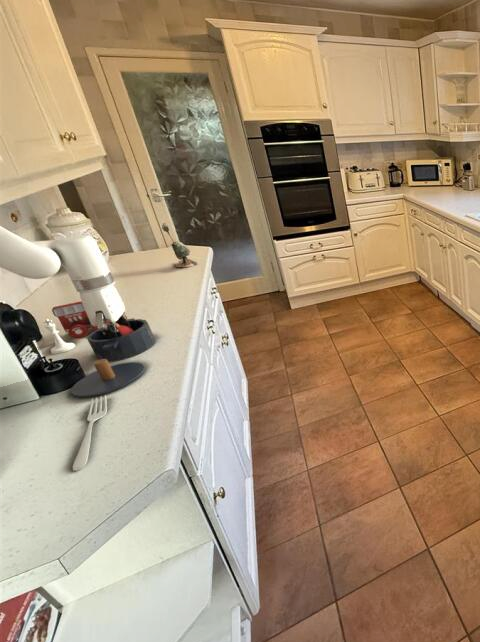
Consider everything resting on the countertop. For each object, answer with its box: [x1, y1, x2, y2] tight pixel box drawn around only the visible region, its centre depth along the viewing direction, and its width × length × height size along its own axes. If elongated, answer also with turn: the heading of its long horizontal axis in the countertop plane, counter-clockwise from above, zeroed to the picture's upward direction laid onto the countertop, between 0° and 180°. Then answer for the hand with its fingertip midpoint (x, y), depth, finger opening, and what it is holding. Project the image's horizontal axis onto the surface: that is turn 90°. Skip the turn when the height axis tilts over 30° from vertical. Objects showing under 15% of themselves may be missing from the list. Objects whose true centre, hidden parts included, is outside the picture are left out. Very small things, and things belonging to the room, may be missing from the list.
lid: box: [70, 359, 146, 398], centre depth 99 cm, size 14×14×6 cm
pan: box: [86, 317, 156, 363], centre depth 113 cm, size 13×18×6 cm
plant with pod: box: [161, 222, 198, 268], centre depth 175 cm, size 8×11×20 cm
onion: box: [116, 324, 134, 335], centre depth 112 cm, size 6×6×8 cm
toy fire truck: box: [51, 300, 111, 339], centre depth 123 cm, size 7×12×10 cm, turn 131°
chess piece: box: [42, 318, 76, 355], centre depth 113 cm, size 5×5×10 cm
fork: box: [72, 394, 108, 472], centre depth 83 cm, size 3×24×2 cm, turn 36°
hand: (122, 339), depth 113 cm, fingers closed on onion, 5 cm apart
